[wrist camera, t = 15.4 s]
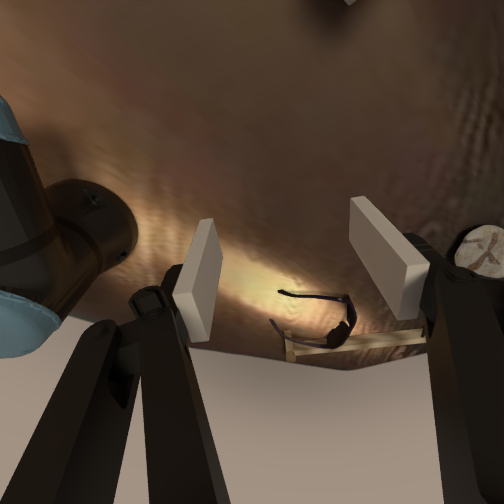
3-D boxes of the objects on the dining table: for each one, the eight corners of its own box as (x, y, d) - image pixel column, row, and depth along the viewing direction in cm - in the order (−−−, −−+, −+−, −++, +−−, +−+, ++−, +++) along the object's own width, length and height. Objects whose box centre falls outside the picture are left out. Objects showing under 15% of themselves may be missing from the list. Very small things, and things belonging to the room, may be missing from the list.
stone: (438, 263, 50) (450, 273, 47) (467, 218, 45) (481, 225, 43) (497, 275, 51) (512, 285, 48) (531, 231, 46) (549, 239, 44)
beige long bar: (285, 347, 63) (286, 363, 59) (282, 330, 60) (284, 345, 56) (432, 332, 60) (443, 347, 57) (437, 314, 57) (449, 328, 54)
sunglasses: (336, 335, 61) (342, 354, 57) (266, 328, 60) (267, 347, 56) (357, 289, 54) (366, 306, 50) (279, 279, 53) (281, 297, 49)
